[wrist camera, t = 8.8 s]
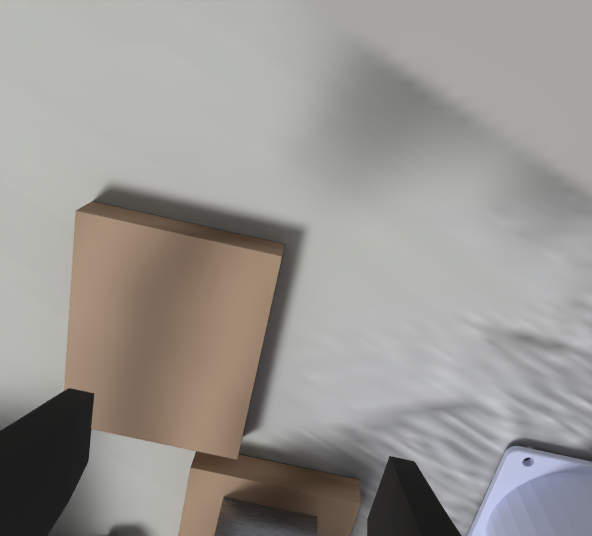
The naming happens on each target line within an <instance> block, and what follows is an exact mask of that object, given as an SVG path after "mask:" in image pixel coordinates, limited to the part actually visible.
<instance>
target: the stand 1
mask: <svg viewBox="0 0 592 536" xmlns="http://www.w3.org/2000/svg"><path fill="white" fill-rule="evenodd" d="M284 246H285V244H282V243H277V242H273V241H268V240H264V239H259V238H255V237H250V236H246V235H241V234H237V233H232V232H228V231H223V230H219V229H214V228H210V227H205V226H201V225H196V224H192V223H187V222H183V221H178V220H174V219H169V218H165V217H160V216H156V215H151V214H147V213H142V212H138V211H133V210H129V209H124V208H120V207H115V206H111V205H106V204H102V203H97V202H93V201H92V202H90V203H89V204H87V205H85V206H83V207H82V208H80V209H78V210H76V216H75V232H74V247H73V263H72V278H71V294H70V309H69V324H68V340H67V355H66V371H65V386H64V391H65V390H67V389H68V388H72V389H76V390H81V391H86V392H90V393H94V403H93V415H92V426H91V429H94V430H99V431H103V432H108V433H113V434H118V435H122V436H127V437H132V438H137V439H141V440H146V441H151V442H156V443H160V444H165V445H170V446H175V447H179V448H184V449H189V450H193V451H198V452H203V453H208V454H212V455H217V456H222V457H227V458H231V459H236V460H237V459H238V454H239V450H240V445H241V441H242V436H243V432H244V427H245V423H246V418H247V414H248V409H249V405H250V400H251V396H252V391H253V386H254V382H255V377H256V373H257V368H258V364H259V359H260V355H261V350H262V346H263V341H264V336H265V332H266V327H267V323H268V318H269V314H270V309H271V305H272V300H273V296H274V291H275V286H276V282H277V277H278V273H279V268H280V264H281V259H282V255H283V250H284Z"/></svg>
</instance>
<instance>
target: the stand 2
mask: <svg viewBox="0 0 592 536" xmlns="http://www.w3.org/2000/svg"><path fill="white" fill-rule="evenodd" d="M223 497H228V498H233V499H238V500H242V501H247V502H252V503H257V504H261V505H266V506H271V507H276V508H280V509H285V510H290V511H295V512H299V513H304V514H309V515H313V516H317V536H350V534H351V531H352V528H353V525H354V522H355V519H356V516H357V513H358V511H359V508H360V505H361V498H360V486H359V480H358V479H353V478H349V477H344V476H339V475H334V474H330V473H325V472H320V471H315V470H311V469H306V468H301V467H296V466H292V465H287V464H282V463H278V462H273V461H268V460H263V459H259V458H254V457H249V456H244V455H240V454H238V459H237V460H236V459H231V458H227V457H222V456H217V455H212V454H208V453H203V452H198V451H196V453H195V456H194V459H193V462H192V465H191V469H190V474H189V480H188V485H187V491H186V496H185V502H184V507H183V513H182V519H181V524H180V530H179V535H178V536H214V534H215V530H216V526H217V522H218V517H219V513H220V509H221V505H222V501H223Z"/></svg>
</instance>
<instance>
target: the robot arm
mask: <svg viewBox="0 0 592 536" xmlns="http://www.w3.org/2000/svg"><path fill="white" fill-rule="evenodd" d="M93 403H94V393H90V392H86V391H81V390H76V389H72V388H68V389H67V390H65V391H63V392H62V393H60V394H58V395H57V396H55V397H54V398H52V399H50V400H49V401H47V402H46V403H44V404H43V405H41V406H39V407H38V408H36V409H35V410H33V411H32V412H30V413H28V414H27V415H25V416H24V417H22V418H21V419H19V420H17V421H16V422H14V423H12V424H11V425H9V426H7V427H6V428H4V429H3V430H1V431H0V536H47V535H48V533H49V532H50V530H51V529H52V527H53V526H54V524H55V522H56V521H57V519H58V518H59V516H60V514H61V513H62V511H63V510H64V508H65V507H66V505H67V503H68V502H69V500H70V498H71V496H72V494H73V492H74V490H75V488H76V486H77V484H78V482H79V480H80V478H81V475H82V473H83V471H84V469H85V467H86V465H87V463H88V459H89V448H90V437H91V426H92V415H93ZM525 458H530V459H529V460H526V461H523V460H524V459H525ZM367 536H461V534H460V533H459V531H458V530H457V528H456V527H455V525H454V524H453V522H452V521H451V519H450V518H449V516H448V515H447V513H446V512H445V510H444V508H443V507H442V505H441V504H440V502H439V500H438V499H437V497H436V496H435V494H434V492H433V491H432V489H431V487H430V486H429V484H428V483H427V481H426V479H425V478H424V476H423V474H422V473H421V471H420V470H419V468H418V466H417V465H416V463H415V462H414V461H410V460H405V459H401V458H396V457H391V456H390V457H389V460H388V463H387V465H386V468H385V471H384V474H383V477H382V480H381V482H380V485H379V488H378V491H377V494H376V497H375V499H374V502H373V505H372V508H371V511H370V514H369V516H368V519H367ZM467 536H592V462H591V461H586V460H581V459H577V458H572V457H567V456H563V455H558V454H554V453H549V452H544V451H540V450H535V449H530V448H526V447H521V446H513V447H510V448H508V449H507V450H506V451H505V453H504V455H503V457H502V460H501V462H500V464H499V466H498V468H497V471H496V473H495V475H494V477H493V480H492V482H491V484H490V486H489V488H488V491H487V493H486V495H485V497H484V500H483V502H482V504H481V506H480V508H479V511H478V513H477V515H476V517H475V519H474V522H473V524H472V526H471V528H470V531H469V533H468V535H467Z"/></svg>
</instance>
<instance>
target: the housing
mask: <svg viewBox="0 0 592 536" xmlns="http://www.w3.org/2000/svg"><path fill="white" fill-rule="evenodd" d="M214 536H317V516H313V515H309V514H304V513H299V512H295V511H290V510H285V509H280V508H276V507H271V506H266V505H261V504H257V503H252V502H247V501H242V500H238V499H233V498H228V497H223V501H222V505H221V509H220V513H219V517H218V522H217V526H216V530H215V534H214Z"/></svg>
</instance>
